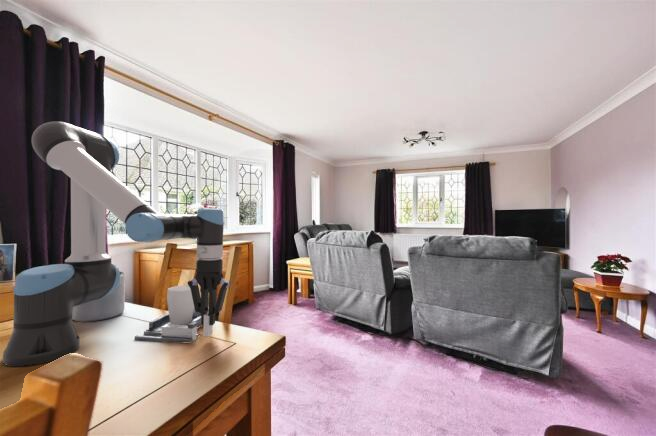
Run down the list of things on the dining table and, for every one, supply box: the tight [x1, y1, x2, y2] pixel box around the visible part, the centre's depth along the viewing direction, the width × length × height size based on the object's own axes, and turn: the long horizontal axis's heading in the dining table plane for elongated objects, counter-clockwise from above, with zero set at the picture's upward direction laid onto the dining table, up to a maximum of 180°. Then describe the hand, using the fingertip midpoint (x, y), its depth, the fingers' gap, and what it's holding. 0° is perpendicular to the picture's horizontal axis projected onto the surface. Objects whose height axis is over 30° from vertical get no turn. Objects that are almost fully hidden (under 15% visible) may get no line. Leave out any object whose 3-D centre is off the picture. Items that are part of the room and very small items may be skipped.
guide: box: [134, 330, 200, 343], centre depth 93 cm, size 18×5×1 cm, turn 84°
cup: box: [166, 284, 194, 325], centre depth 103 cm, size 9×9×12 cm
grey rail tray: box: [145, 306, 209, 332], centre depth 103 cm, size 14×14×5 cm
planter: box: [72, 271, 126, 323], centre depth 112 cm, size 16×16×16 cm
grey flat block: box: [161, 322, 198, 342], centre depth 93 cm, size 10×2×5 cm, turn 84°
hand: (207, 335), depth 92 cm, fingers closed
